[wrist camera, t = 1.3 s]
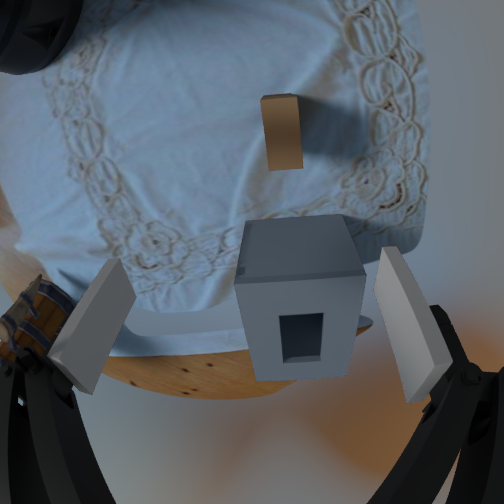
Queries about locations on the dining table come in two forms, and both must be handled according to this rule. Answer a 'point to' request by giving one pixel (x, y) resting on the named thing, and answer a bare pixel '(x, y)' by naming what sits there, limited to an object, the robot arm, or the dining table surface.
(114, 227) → the dining table surface
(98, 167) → the dining table surface
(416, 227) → the dining table surface
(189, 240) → the dining table surface
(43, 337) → the mug
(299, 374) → the coin box
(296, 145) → the brown wooden block
